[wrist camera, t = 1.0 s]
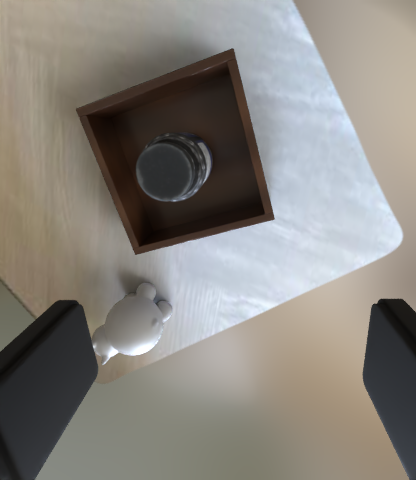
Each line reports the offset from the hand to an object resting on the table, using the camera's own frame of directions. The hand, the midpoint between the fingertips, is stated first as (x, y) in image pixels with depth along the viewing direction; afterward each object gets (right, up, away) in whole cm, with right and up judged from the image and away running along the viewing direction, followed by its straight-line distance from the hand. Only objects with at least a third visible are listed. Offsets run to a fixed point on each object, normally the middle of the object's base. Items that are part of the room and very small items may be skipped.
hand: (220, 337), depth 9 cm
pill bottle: (-3, +12, +24) cm, 27 cm away
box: (-3, +13, +25) cm, 28 cm away
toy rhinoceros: (-11, -7, +33) cm, 35 cm away
